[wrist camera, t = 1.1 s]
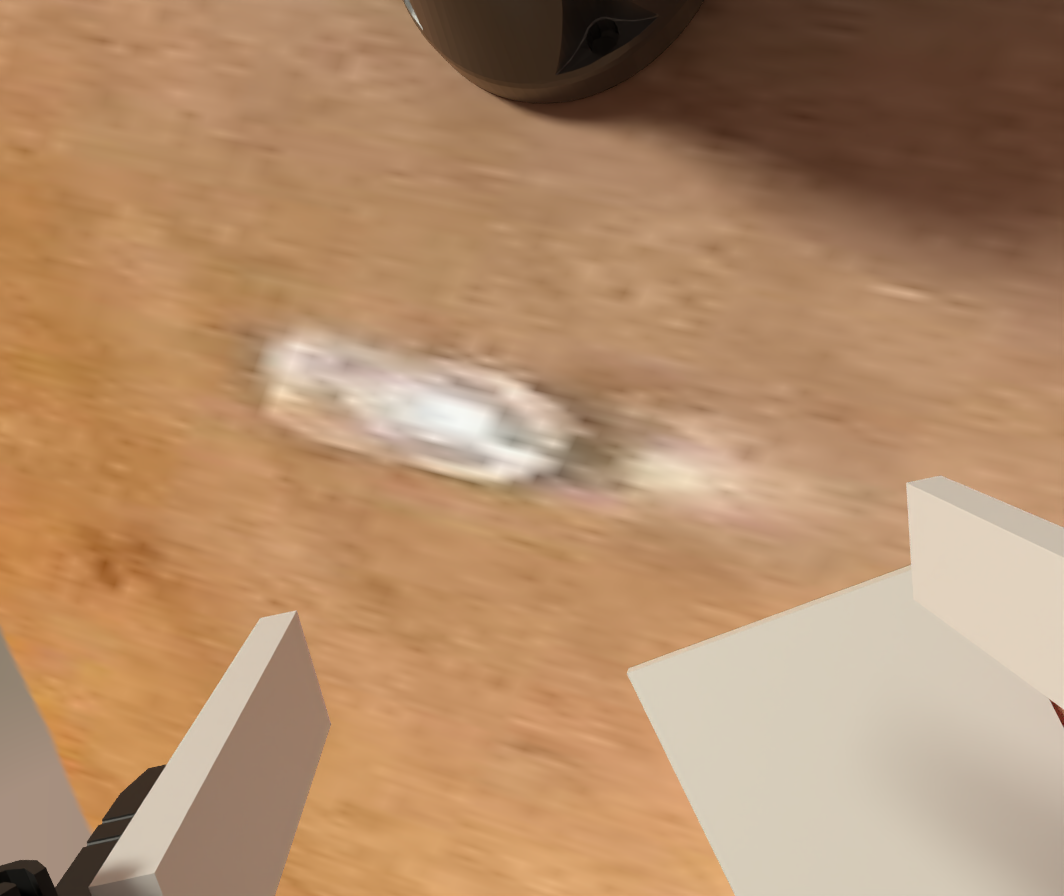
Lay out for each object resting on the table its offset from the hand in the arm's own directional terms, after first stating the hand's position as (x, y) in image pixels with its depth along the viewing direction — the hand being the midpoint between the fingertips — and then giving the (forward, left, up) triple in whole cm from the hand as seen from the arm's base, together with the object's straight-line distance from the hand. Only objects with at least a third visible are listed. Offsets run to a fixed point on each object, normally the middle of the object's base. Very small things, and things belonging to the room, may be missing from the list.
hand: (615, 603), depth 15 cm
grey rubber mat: (+10, +13, -19) cm, 25 cm away
